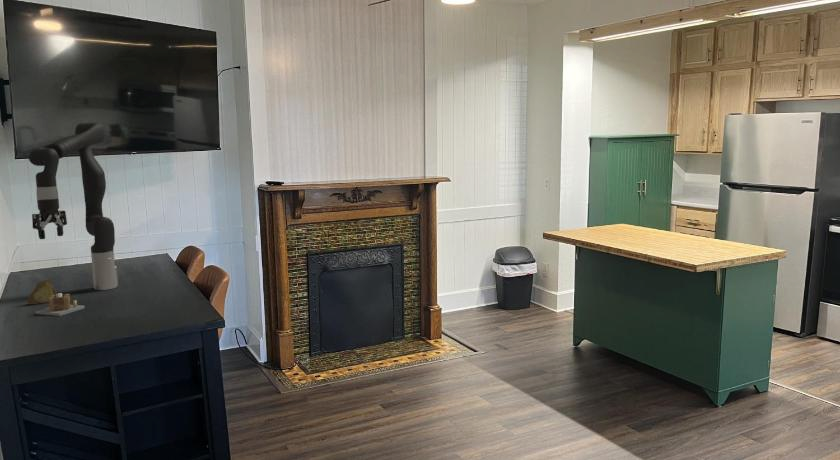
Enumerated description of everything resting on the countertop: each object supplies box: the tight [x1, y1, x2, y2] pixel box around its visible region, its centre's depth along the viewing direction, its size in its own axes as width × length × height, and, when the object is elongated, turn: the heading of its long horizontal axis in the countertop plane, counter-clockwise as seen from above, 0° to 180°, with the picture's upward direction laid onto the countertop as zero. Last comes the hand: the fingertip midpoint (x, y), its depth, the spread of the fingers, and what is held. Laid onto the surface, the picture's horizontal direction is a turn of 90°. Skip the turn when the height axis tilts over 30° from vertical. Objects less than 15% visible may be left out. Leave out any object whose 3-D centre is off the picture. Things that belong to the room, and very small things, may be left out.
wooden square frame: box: [48, 293, 72, 311], centre depth 249 cm, size 6×6×5 cm
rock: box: [27, 279, 58, 305], centre depth 264 cm, size 11×9×10 cm
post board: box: [35, 292, 85, 317], centre depth 248 cm, size 12×12×7 cm
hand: (51, 237), depth 256 cm, fingers open, 8 cm apart
